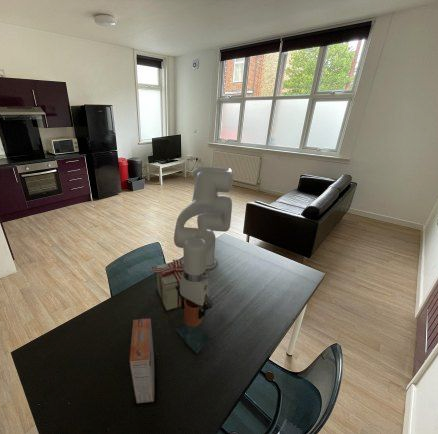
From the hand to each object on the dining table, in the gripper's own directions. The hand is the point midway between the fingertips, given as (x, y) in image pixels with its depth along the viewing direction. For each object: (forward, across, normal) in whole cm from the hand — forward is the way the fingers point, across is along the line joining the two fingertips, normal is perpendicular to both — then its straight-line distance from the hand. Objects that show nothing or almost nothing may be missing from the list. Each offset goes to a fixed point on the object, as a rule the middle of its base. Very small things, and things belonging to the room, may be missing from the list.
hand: (193, 311), depth 88 cm
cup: (+4, 0, 0) cm, 4 cm away
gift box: (+14, +21, -14) cm, 28 cm away
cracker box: (+14, +3, +23) cm, 27 cm away
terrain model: (+14, 0, 0) cm, 14 cm away
